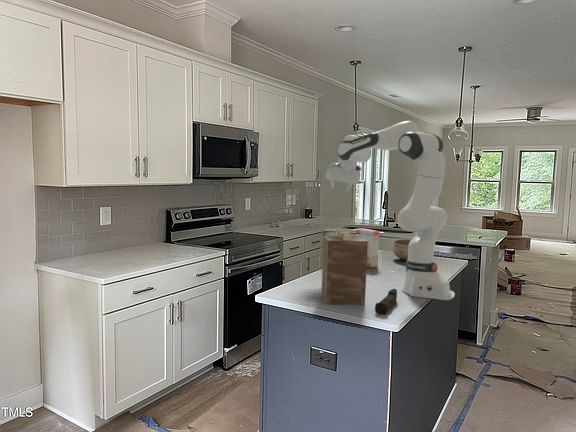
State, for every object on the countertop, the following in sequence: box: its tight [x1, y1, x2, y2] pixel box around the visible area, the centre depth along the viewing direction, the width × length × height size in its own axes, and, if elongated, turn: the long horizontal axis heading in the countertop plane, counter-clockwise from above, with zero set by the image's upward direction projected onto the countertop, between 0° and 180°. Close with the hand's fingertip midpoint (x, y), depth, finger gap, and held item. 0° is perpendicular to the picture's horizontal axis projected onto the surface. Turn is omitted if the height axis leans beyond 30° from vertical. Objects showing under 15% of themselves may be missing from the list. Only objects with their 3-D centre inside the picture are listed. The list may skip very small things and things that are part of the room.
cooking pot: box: [392, 238, 413, 262], centre depth 273 cm, size 25×19×12 cm
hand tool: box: [374, 288, 398, 316], centre depth 178 cm, size 23×5×6 cm, turn 150°
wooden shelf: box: [321, 235, 368, 305], centre depth 185 cm, size 12×16×26 cm
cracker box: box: [355, 227, 380, 269], centre depth 255 cm, size 14×6×21 cm, turn 32°
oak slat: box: [334, 227, 353, 241], centre depth 188 cm, size 20×3×2 cm, turn 5°
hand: (339, 189), depth 242 cm, fingers open, 8 cm apart
